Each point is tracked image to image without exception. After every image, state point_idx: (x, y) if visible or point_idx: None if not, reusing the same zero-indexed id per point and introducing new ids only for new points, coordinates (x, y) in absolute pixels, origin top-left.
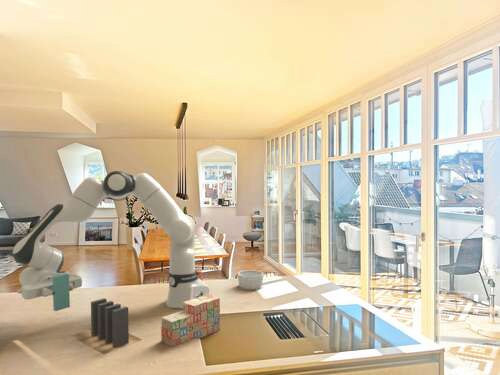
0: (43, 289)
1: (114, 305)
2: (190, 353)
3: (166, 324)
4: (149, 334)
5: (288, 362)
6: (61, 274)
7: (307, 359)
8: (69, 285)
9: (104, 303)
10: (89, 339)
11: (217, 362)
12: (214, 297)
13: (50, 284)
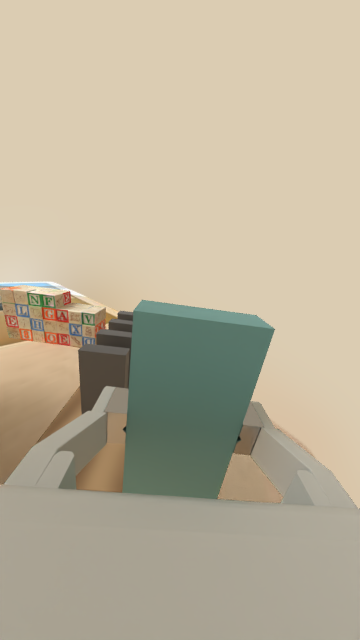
0: (326, 470)
1: (122, 321)
2: (107, 329)
3: (100, 316)
4: (62, 372)
5: (95, 302)
6: (188, 317)
7: (87, 299)
8: (116, 401)
9: (120, 333)
10: None
11: (114, 317)
12: (19, 286)
13: (273, 515)
